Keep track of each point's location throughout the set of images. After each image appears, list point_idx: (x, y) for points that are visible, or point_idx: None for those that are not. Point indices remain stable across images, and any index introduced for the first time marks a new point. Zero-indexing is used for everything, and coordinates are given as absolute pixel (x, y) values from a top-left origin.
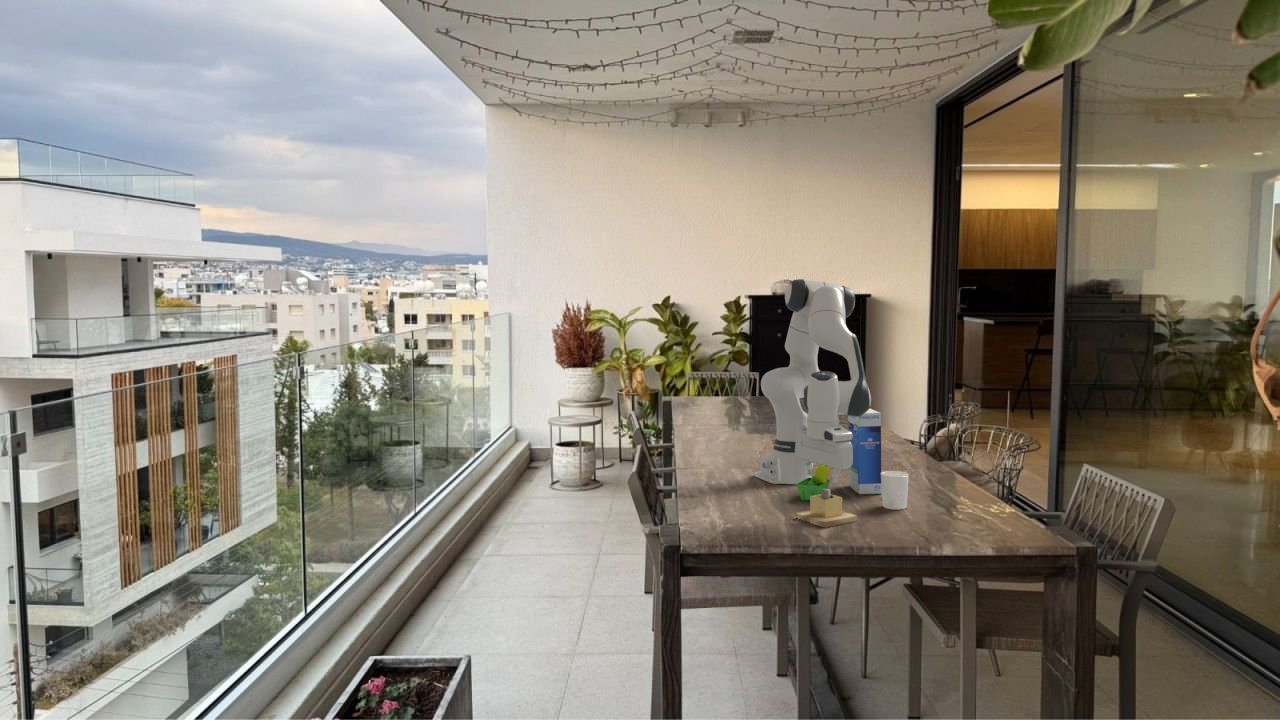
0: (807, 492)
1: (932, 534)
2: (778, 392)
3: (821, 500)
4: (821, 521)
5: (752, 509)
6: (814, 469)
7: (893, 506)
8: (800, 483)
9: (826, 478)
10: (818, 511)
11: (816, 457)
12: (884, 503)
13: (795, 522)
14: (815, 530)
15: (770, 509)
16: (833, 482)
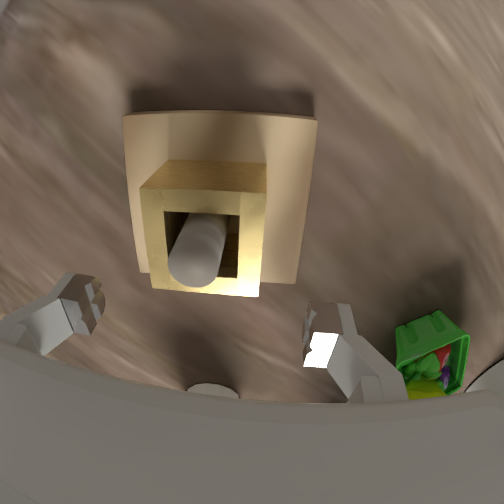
0: (427, 333)
1: (5, 290)
2: None
3: (171, 186)
4: (142, 114)
5: (500, 116)
6: (310, 365)
7: (193, 390)
8: (463, 352)
9: None
10: (207, 166)
11: (157, 441)
12: (217, 393)
13: (266, 69)
14: (126, 60)
15: (463, 157)
16: (68, 272)
